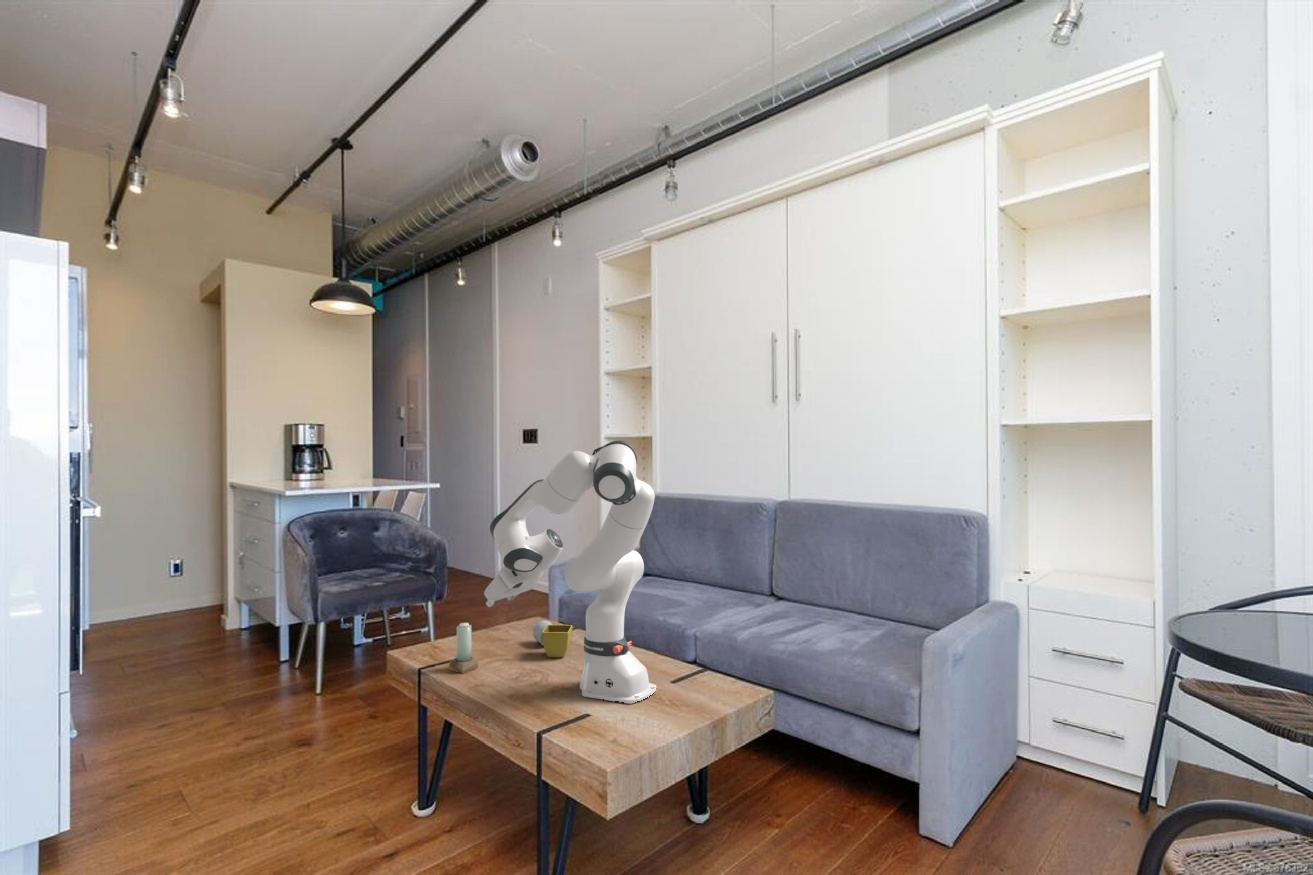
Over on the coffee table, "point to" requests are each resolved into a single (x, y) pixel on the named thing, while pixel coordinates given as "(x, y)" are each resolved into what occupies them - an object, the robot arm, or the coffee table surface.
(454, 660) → the base
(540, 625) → the ceramic mug
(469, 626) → the column
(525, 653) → the coffee table surface
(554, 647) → the flower pot
